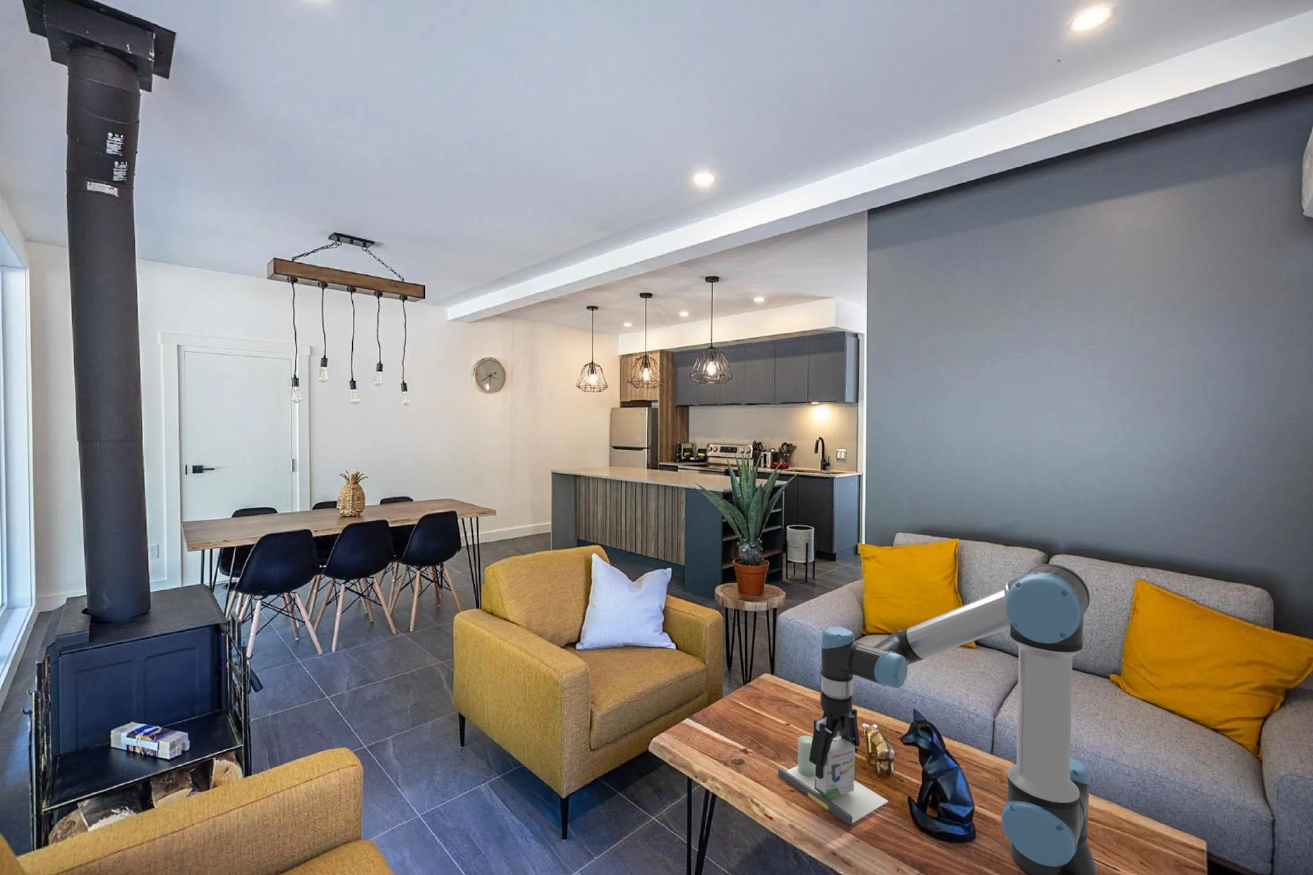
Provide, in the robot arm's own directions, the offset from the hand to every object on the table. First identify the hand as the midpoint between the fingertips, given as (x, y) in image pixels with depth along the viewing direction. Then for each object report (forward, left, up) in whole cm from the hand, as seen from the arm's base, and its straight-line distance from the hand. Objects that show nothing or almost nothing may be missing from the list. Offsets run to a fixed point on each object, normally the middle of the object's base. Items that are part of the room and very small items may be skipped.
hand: (834, 782), depth 141 cm
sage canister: (+10, -2, -3) cm, 11 cm away
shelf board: (+2, -2, -4) cm, 5 cm away
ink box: (0, 0, -2) cm, 2 cm away
